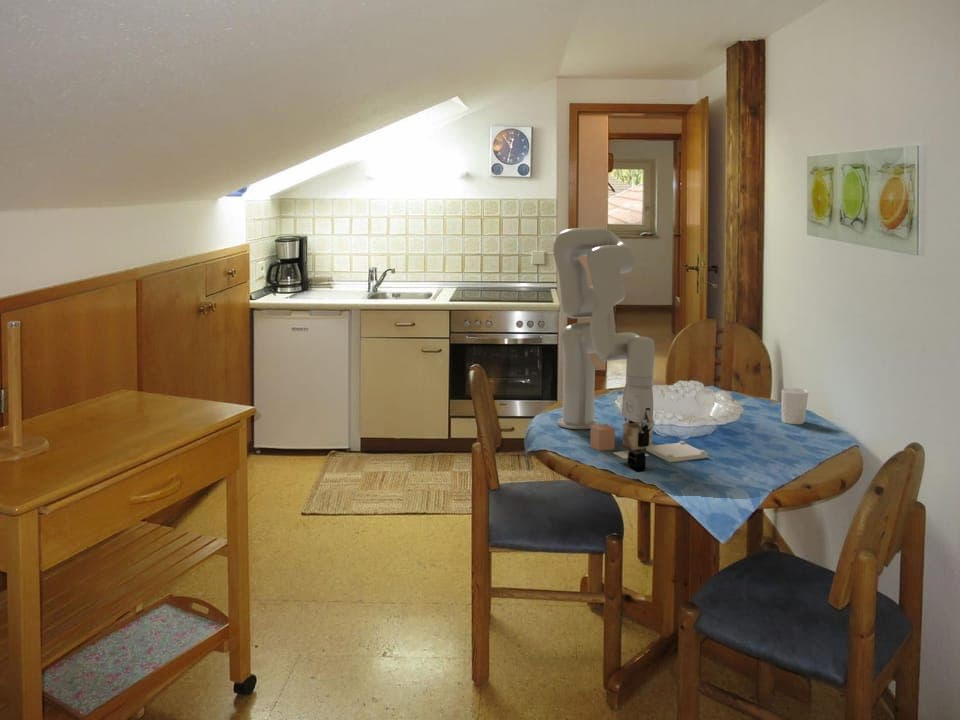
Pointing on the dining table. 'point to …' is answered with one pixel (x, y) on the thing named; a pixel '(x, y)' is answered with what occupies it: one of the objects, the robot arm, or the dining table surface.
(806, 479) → the dining table surface
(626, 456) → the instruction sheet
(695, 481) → the dining table surface
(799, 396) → the white cup
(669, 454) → the plate
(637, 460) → the dark stepped block
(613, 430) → the terracotta brick
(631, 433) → the beech brick
